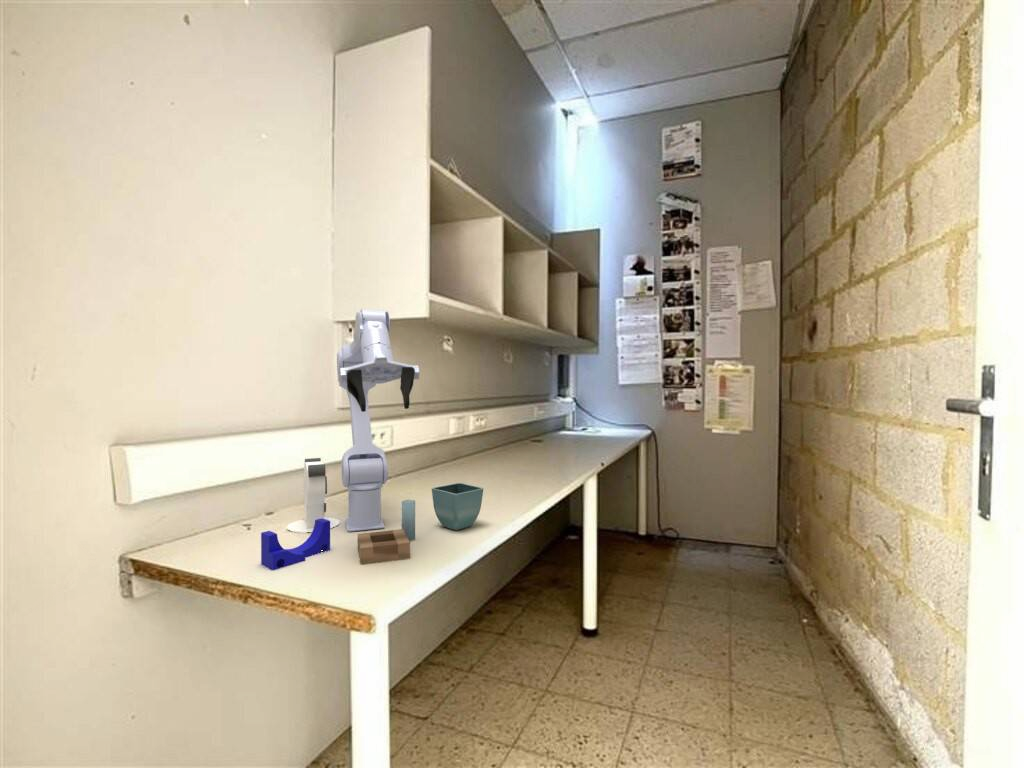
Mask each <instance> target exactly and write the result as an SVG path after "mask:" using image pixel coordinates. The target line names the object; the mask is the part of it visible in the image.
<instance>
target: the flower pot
mask: <svg viewBox="0 0 1024 768" xmlns="http://www.w3.org/2000/svg"><path fill="white" fill-rule="evenodd" d="M484 488H485V487H480V486H476V485H473V484H468V483H464V482H463V483H462V482H455V483H451V484H446V485H442V486H436V487H432V488H431V496H432V504H433V509H434V513H435V515H436V518H437V520H438V522H439V524H440V525H441V527H445V528H448V529H450V530H454V531H459V530H462V529H465V528H470V527H472V526H473V525H474V523H475V522H476V520H477V519H478V518H479V517H478V516H479V514H480V512H481V509H482V504H483V503H482V502H483V496H484V494H483V493H484Z"/></svg>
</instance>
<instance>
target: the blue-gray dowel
mask: <svg viewBox="0 0 1024 768" xmlns="http://www.w3.org/2000/svg"><path fill="white" fill-rule="evenodd" d="M401 529H403V530H404V532H405V534H406V536H407V538H408V539H409V541H410V542H412V541H411V540H413V541H415V540H416V500H413V499H404V500H402V501H401Z"/></svg>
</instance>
